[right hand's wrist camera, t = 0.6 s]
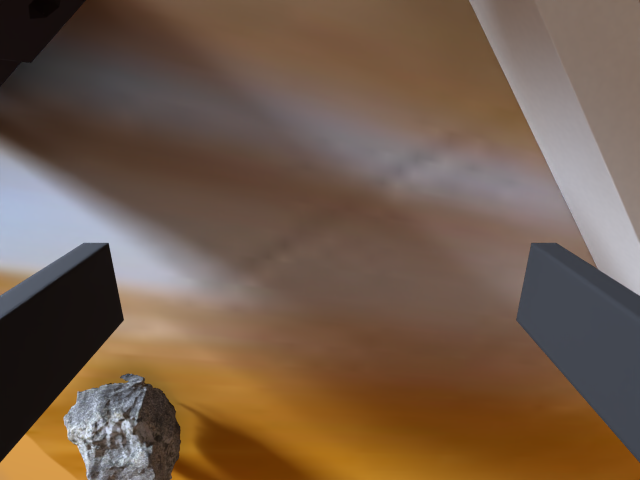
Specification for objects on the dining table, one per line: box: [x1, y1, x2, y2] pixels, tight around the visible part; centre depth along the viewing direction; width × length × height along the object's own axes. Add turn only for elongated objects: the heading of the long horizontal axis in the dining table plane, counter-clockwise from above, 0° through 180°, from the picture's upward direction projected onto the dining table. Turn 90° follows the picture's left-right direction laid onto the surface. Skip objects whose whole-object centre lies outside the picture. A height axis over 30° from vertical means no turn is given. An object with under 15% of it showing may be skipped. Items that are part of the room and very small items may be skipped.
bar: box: [469, 0, 640, 296], centre depth 31 cm, size 56×5×8 cm, turn 34°
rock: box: [64, 374, 181, 480], centre depth 40 cm, size 13×9×6 cm, turn 31°
